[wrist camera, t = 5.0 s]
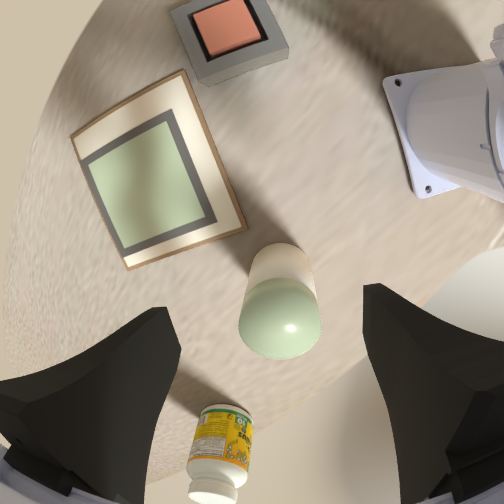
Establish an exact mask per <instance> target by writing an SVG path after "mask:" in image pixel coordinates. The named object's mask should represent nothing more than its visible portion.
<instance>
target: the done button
mask: <svg viewBox="0 0 504 504" xmlns="http://www.w3.org/2000/svg"><path fill="white" fill-rule="evenodd" d="M193 16H194V19H195V21H196V23H197V25H198V28H199V30H200V32H201V35H202V37H203V39H204V41H205V44H206V46H207V48H208V51H209V53H210V54H211V55H212V57H213V58H214V59H215V58H217V57H220V56H222V55H225V54H227V53H230V52H233V51H235V50H238V49H241V48H244V47H246V46H249V45H252V44H255V43H258V42H261V37H260V34H259V31H258V29H257V27H256V25H255V23H254V21H253V19H252V17H251V15H250V13H249V11H248V9H247V7H246V5H245V3H244V1H243V0H230V1H227V2H224V3H221V4H219V5H216V6H214V7H211V8H208V9H206V10H204V11H201V12H199V13H196V14H194V15H193Z"/></svg>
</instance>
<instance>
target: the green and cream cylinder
mask: <svg viewBox="0 0 504 504" xmlns="http://www.w3.org/2000/svg"><path fill="white" fill-rule="evenodd" d="M238 326H239V333H240V336H241V338H242V340H243V342H244V343H245V344H246V346H247V347H248V348H249V349H251V350H252V351H253V352H255V353H257V354H259V355H261V356H263V357H267V358H271V359H289V358H293V357H296V356H299V355H301V354H303V353H305V352H306V351H308V350H309V349H310V348H311V347H313V345H314V344H315V343H316V342H317V340H318V338H319V336H320V333H321V327H322V324H321V317H320V312H319V306H318V301H317V296H316V291H315V286H314V281H313V276H312V271H311V266H310V262H309V260H308V258H307V256H306V255H305V253H304V252H303V251H302V250H301V249H299V248H298V247H296V246H294V245H291V244H288V243H274V244H271V245H268V246H266V247H264V248H263V249H261V250H260V251H259V252H258V253H257V254H256V256H255V257H254V259H253V262H252V265H251V270H250V274H249V278H248V283H247V287H246V292H245V296H244V301H243V305H242V310H241V314H240V319H239V325H238Z"/></svg>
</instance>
